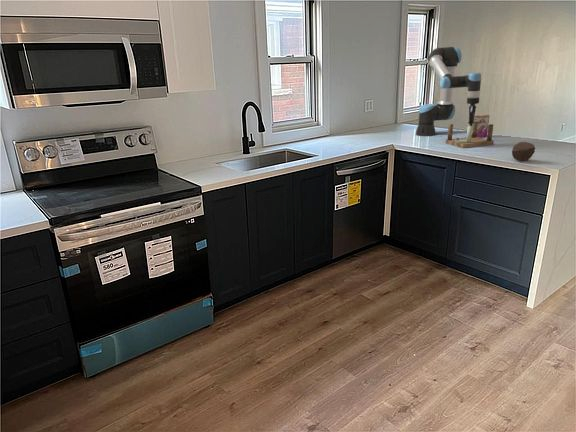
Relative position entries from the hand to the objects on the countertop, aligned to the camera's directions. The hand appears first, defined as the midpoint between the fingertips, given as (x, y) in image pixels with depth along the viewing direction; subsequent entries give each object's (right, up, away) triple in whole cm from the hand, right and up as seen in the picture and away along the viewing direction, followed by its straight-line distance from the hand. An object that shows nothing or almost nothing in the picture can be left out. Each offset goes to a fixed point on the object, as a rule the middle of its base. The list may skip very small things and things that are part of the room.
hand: (470, 132), depth 288 cm
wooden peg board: (+2, -6, +7) cm, 10 cm away
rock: (+11, -25, -43) cm, 51 cm away
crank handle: (-5, -6, +2) cm, 8 cm away
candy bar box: (+18, +2, +27) cm, 33 cm away
